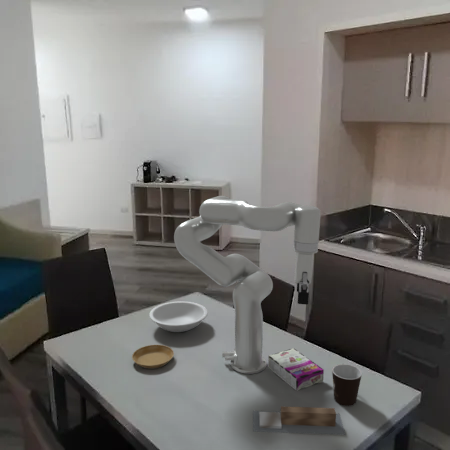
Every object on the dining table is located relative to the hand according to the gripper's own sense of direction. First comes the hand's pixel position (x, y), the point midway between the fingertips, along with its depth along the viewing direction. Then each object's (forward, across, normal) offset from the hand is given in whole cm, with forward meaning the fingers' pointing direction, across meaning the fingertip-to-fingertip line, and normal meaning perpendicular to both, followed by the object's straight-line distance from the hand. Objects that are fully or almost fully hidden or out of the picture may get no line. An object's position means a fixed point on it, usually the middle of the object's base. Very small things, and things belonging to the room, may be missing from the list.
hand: (302, 297), depth 143 cm
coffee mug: (+28, +10, +15) cm, 33 cm away
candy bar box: (+26, +5, +4) cm, 27 cm away
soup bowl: (+31, -32, -47) cm, 65 cm away
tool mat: (+28, +24, 0) cm, 37 cm away
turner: (+28, +24, -1) cm, 37 cm away
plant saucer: (+31, -5, -50) cm, 59 cm away
